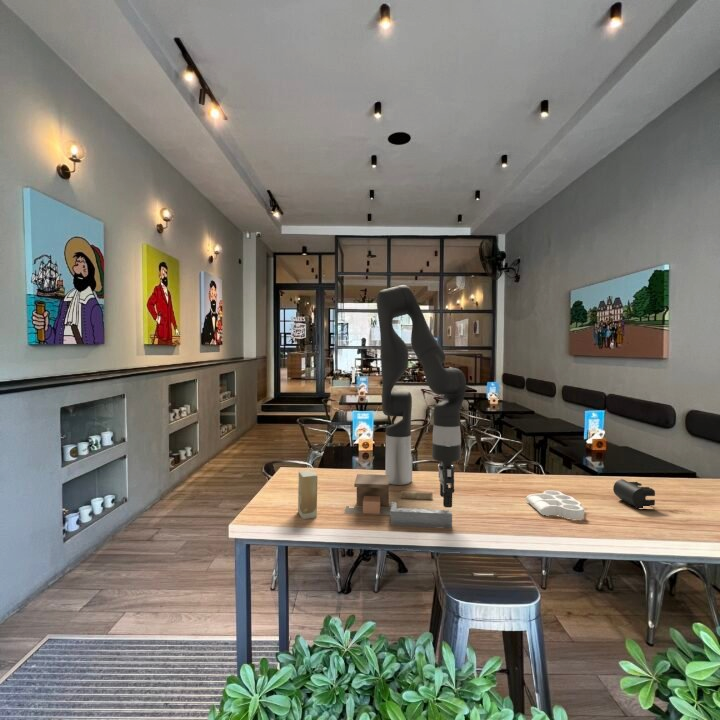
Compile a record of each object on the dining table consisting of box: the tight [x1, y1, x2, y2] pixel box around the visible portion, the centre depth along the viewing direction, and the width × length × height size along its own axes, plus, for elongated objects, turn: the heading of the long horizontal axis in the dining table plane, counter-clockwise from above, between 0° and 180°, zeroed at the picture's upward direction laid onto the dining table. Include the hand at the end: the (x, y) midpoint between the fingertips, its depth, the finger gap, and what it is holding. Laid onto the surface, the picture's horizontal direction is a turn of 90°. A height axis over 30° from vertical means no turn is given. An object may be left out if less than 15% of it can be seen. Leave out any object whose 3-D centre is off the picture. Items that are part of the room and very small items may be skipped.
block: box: [362, 496, 381, 515], centre depth 127 cm, size 5×5×4 cm
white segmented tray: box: [525, 489, 587, 520], centre depth 130 cm, size 3×18×15 cm
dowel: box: [400, 490, 434, 500], centre depth 139 cm, size 10×2×2 cm, turn 85°
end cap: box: [613, 478, 656, 509], centre depth 135 cm, size 10×7×7 cm
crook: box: [390, 501, 453, 529], centre depth 119 cm, size 16×8×4 cm, turn 84°
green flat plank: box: [343, 505, 430, 516], centre depth 127 cm, size 25×6×1 cm, turn 85°
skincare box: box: [297, 469, 318, 520], centre depth 124 cm, size 6×4×12 cm
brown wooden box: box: [353, 473, 390, 506], centre depth 129 cm, size 10×10×9 cm
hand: (445, 501), depth 116 cm, fingers open, 8 cm apart
